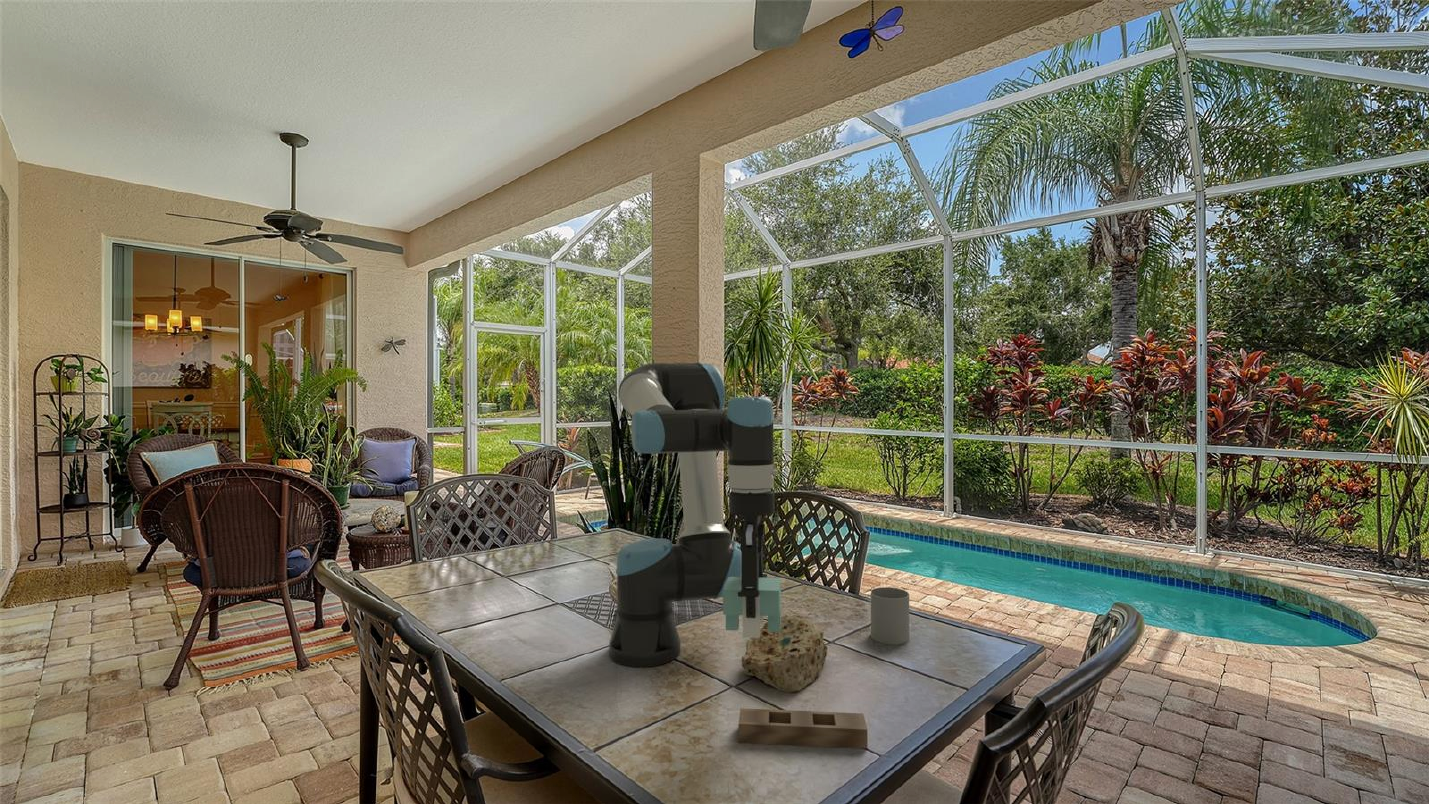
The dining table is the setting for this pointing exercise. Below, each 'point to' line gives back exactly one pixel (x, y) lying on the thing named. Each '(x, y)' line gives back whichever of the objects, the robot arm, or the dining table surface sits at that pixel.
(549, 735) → the dining table surface
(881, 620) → the cup
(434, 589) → the dining table surface
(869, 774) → the dining table surface
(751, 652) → the rock
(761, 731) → the rail
